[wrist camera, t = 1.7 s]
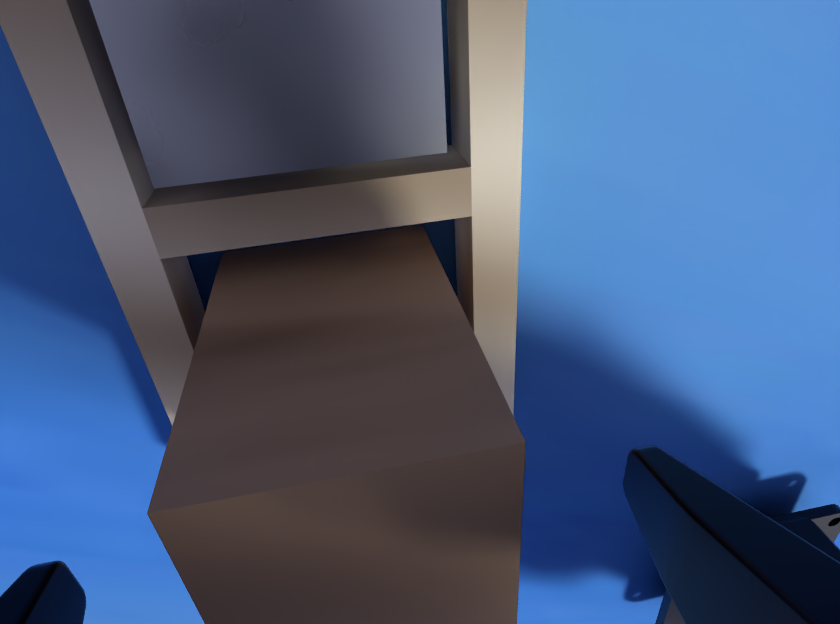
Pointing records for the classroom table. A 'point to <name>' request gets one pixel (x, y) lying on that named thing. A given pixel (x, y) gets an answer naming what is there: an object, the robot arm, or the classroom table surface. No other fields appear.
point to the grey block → (276, 83)
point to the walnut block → (342, 445)
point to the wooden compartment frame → (282, 183)
